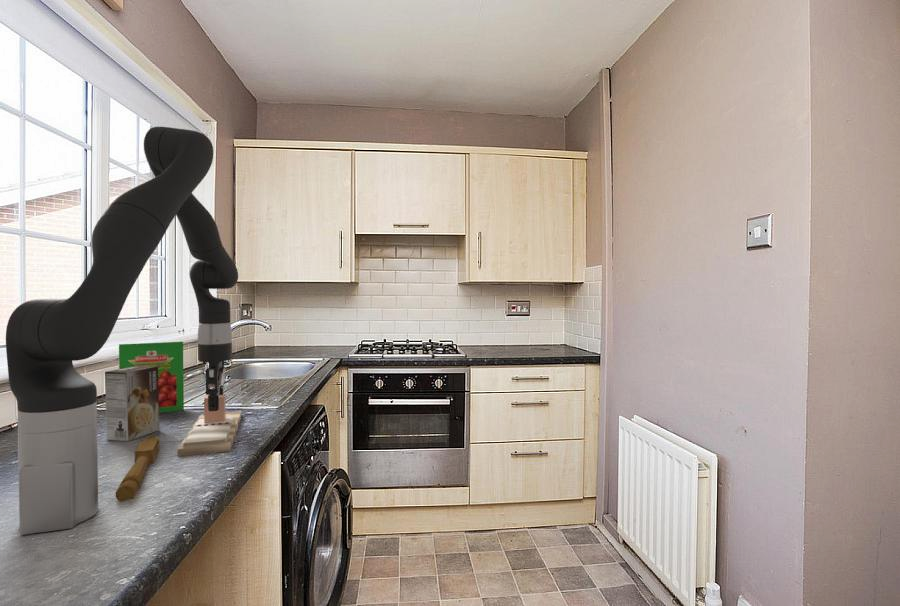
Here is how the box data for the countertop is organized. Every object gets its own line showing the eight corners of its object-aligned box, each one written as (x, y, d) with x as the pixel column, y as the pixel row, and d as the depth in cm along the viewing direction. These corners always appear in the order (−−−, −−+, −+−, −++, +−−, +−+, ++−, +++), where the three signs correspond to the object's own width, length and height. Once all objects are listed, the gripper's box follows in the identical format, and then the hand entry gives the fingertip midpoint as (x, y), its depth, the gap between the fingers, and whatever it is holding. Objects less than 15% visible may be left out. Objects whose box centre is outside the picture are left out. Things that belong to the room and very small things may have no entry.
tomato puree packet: (119, 417, 129) (118, 344, 129) (120, 416, 130) (119, 344, 130) (183, 410, 137) (183, 341, 137) (183, 409, 138) (183, 341, 138)
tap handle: (114, 486, 77) (144, 435, 104) (114, 504, 77) (145, 448, 104) (136, 483, 78) (160, 433, 106) (136, 501, 78) (161, 446, 106)
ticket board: (230, 450, 102) (229, 438, 102) (177, 456, 99) (177, 443, 99) (241, 416, 130) (241, 406, 130) (201, 419, 127) (200, 409, 127)
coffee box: (138, 428, 118) (137, 365, 118) (160, 430, 117) (159, 366, 117) (105, 440, 109) (104, 371, 109) (128, 441, 108) (127, 372, 108)
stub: (231, 426, 115) (231, 397, 115) (194, 429, 113) (194, 400, 112) (234, 420, 121) (233, 393, 121) (199, 422, 118) (198, 395, 118)
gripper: (228, 344, 111) (229, 412, 111) (234, 337, 124) (235, 399, 125) (192, 345, 108) (193, 415, 109) (202, 338, 122) (203, 401, 122)
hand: (216, 406), depth 117 cm, fingers open, 8 cm apart
